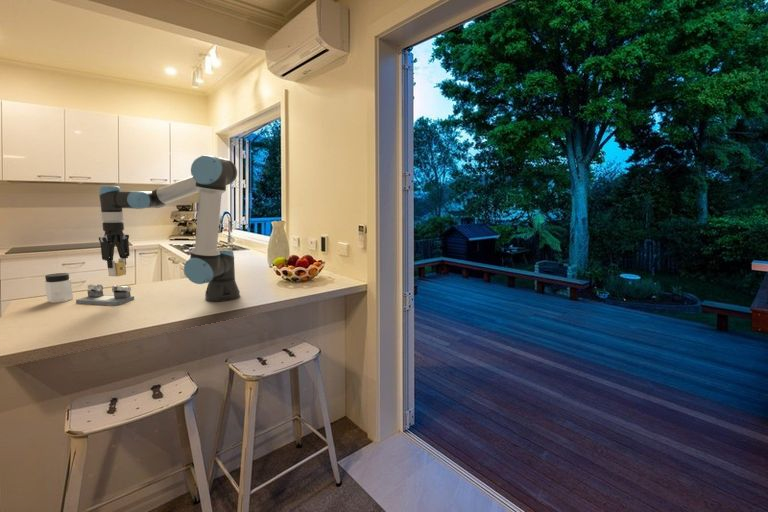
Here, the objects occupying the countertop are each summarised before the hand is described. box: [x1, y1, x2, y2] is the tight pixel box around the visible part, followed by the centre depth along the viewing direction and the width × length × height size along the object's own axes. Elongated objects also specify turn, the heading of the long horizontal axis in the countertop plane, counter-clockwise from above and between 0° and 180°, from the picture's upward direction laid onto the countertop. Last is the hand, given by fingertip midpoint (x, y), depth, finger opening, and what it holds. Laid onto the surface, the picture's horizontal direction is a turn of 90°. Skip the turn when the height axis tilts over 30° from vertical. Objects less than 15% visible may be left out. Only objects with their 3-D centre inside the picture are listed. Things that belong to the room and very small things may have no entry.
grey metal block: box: [111, 285, 132, 299], centre depth 170 cm, size 6×4×6 cm, turn 97°
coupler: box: [107, 260, 127, 278], centre depth 166 cm, size 5×5×6 cm
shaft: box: [87, 283, 104, 298], centre depth 172 cm, size 6×4×6 cm, turn 67°
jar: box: [44, 272, 74, 304], centre depth 169 cm, size 9×8×12 cm
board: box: [75, 294, 135, 306], centre depth 169 cm, size 20×10×2 cm, turn 82°
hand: (117, 273), depth 166 cm, fingers closed on coupler, 5 cm apart
